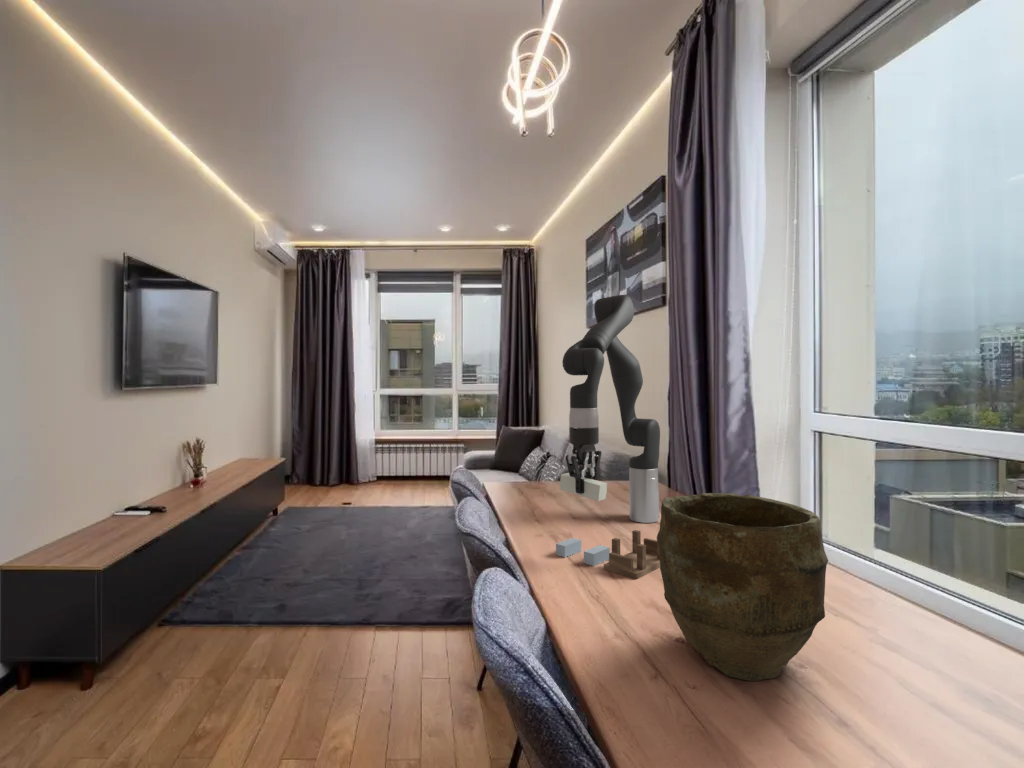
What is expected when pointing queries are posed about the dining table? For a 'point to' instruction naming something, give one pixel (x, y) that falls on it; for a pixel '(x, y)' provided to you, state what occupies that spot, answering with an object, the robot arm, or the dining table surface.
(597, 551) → the pair of grey blocks
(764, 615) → the clay pot
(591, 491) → the white rectangular block
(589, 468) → the robot arm
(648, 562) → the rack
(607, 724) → the dining table surface
